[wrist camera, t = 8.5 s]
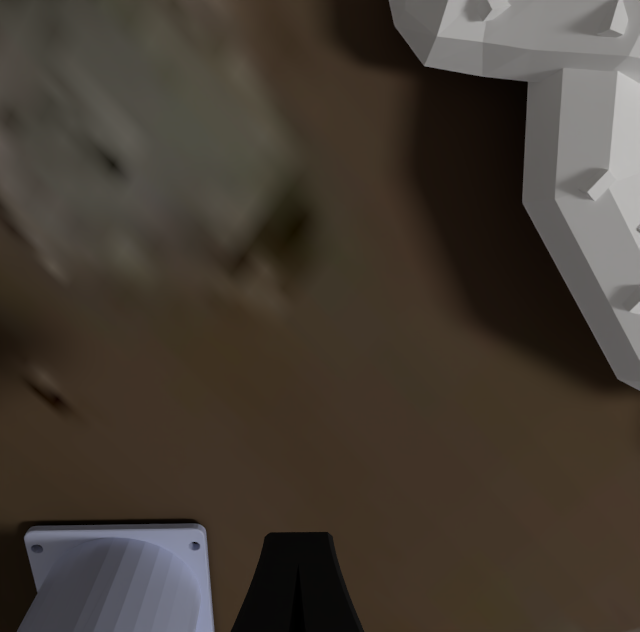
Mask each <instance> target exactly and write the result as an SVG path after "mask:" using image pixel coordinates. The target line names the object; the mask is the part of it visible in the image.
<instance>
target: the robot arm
mask: <svg viewBox="0 0 640 632" xmlns="http://www.w3.org/2000/svg"><path fill="white" fill-rule="evenodd" d="M24 541H25V545H26V549H27V553H28V557H29V561H30V565H31V569H32V573H33V577H34V581H35V585H36V589H37V595H36V597H35V599H34V601H33V602H32V604H31V606H30V608H29V610H28V612H27V613H26V615H25V617H24V619H23V621H22V623H21V624H20V626H19V628H18V630H17V632H214V621H213V609H212V597H211V585H210V573H209V561H208V549H207V537H206V530H205V528H204V527H203V526H202V525H200V524H195V523H186V524H122V525H58V526H33V527H31V528H29V530H28V531H27V533H26V534H25V536H24ZM192 542H197V543H198V544H194V543H192ZM38 545H40V546H38ZM231 632H364V630H363V628H362V625H361V623H360V621H359V618H358V616H357V613H356V611H355V608H354V606H353V604H352V601H351V598H350V596H349V593H348V590H347V587H346V584H345V582H344V579H343V576H342V573H341V569H340V566H339V563H338V559H337V556H336V551H335V547H334V542H333V536H332V535H330V534H329V533H328V532H279V533H269V534H268V535H267V536H265V539H264V543H263V548H262V552H261V555H260V559H259V562H258V565H257V568H256V571H255V574H254V577H253V579H252V582H251V585H250V587H249V590H248V593H247V595H246V597H245V600H244V602H243V604H242V607H241V609H240V611H239V614H238V616H237V619H236V621H235V623H234V626H233V628H232V630H231Z"/></svg>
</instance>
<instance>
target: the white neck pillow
mask: <svg viewBox="0 0 640 632" xmlns="http://www.w3.org/2000/svg"><path fill="white" fill-rule="evenodd" d="M389 4H390V9H391V13H392V18H393V22H394V26H395V27H396V29H397V30H398V31H399V33H400V34H401V36H402V37H403V38H404V40H405V41H406V42H407V44H408V45H409V46H410V48H411V49H412V50H413V52H414V53H415V54H416V56H417V57H418V59H419V60H420V61H421V63H422V64H423V65H424V66H426V67H432V68H437V69H443V70H448V71H454V72H459V73H465V74H471V75H476V76H482V77H490V78H499V79H508V80H517V81H527V82H528V91H527V112H526V132H525V153H524V173H523V194H522V203H523V205H524V207H525V209H526V211H527V213H528V215H529V216H530V218H531V220H532V222H533V224H534V226H535V227H536V229H537V231H538V233H539V235H540V237H541V239H542V240H543V242H544V244H545V246H546V248H547V250H548V252H549V253H550V255H551V257H552V259H553V261H554V263H555V264H556V266H557V268H558V270H559V272H560V274H561V276H562V277H563V279H564V281H565V283H566V285H567V287H568V288H569V290H570V292H571V294H572V296H573V298H574V300H575V301H576V303H577V305H578V307H579V309H580V311H581V313H582V314H583V316H584V318H585V320H586V322H587V324H588V325H589V327H590V329H591V331H592V333H593V335H594V337H595V338H596V340H597V342H598V344H599V346H600V348H601V349H602V351H603V353H604V355H605V357H606V359H607V361H608V362H609V364H610V366H611V368H612V370H613V372H614V374H615V375H616V377H617V379H618V380H620V381H622V382H624V383H626V384H628V385H630V386H632V387H634V388H635V389H637V390H639V391H640V0H389Z"/></svg>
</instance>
